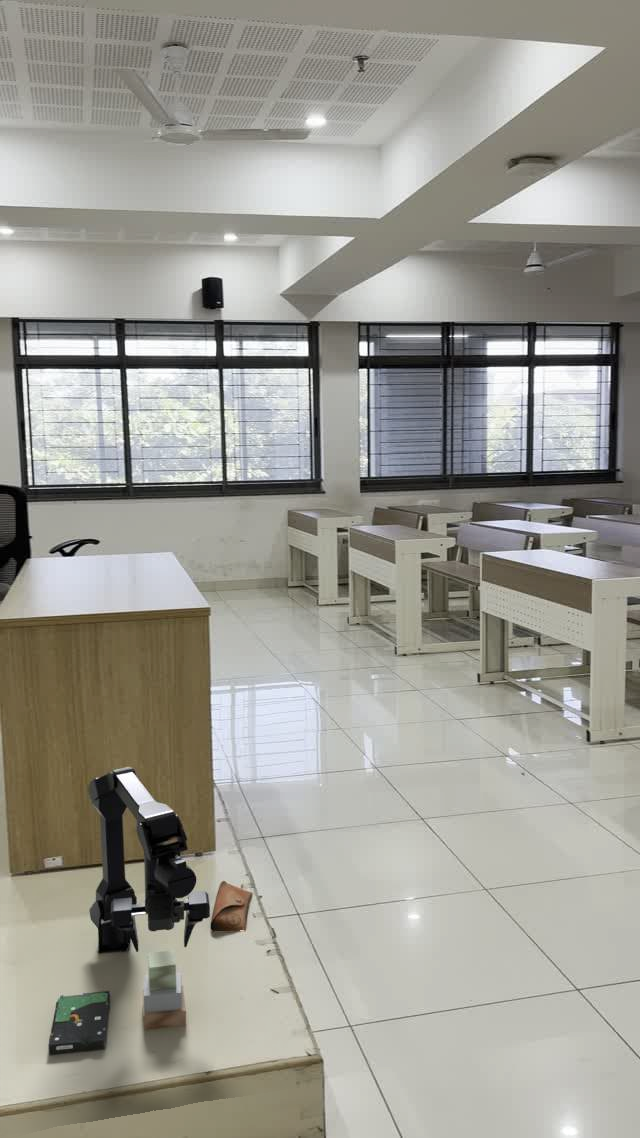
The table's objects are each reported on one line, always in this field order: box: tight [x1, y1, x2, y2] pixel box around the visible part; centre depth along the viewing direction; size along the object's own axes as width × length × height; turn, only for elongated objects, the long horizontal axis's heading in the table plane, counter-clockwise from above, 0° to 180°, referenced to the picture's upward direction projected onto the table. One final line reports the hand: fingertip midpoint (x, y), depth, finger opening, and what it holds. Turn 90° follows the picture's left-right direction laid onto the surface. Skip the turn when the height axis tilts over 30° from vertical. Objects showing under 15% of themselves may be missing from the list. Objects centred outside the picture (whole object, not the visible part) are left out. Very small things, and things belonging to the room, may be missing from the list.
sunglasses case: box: [209, 880, 253, 932], centre depth 219 cm, size 18×7×7 cm, turn 0°
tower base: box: [142, 985, 187, 1031], centre depth 181 cm, size 8×8×4 cm
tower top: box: [143, 970, 183, 1013], centre depth 181 cm, size 7×7×4 cm
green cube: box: [147, 949, 177, 992], centre depth 180 cm, size 5×5×5 cm
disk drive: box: [48, 990, 111, 1056], centre depth 178 cm, size 10×3×15 cm
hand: (161, 948), depth 181 cm, fingers open, 9 cm apart
